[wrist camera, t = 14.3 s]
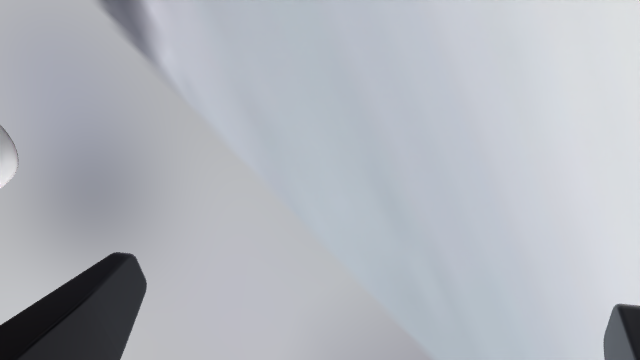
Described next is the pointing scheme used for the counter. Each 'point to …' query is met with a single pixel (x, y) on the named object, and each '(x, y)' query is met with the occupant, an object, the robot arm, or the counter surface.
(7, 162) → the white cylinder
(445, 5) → the counter surface
